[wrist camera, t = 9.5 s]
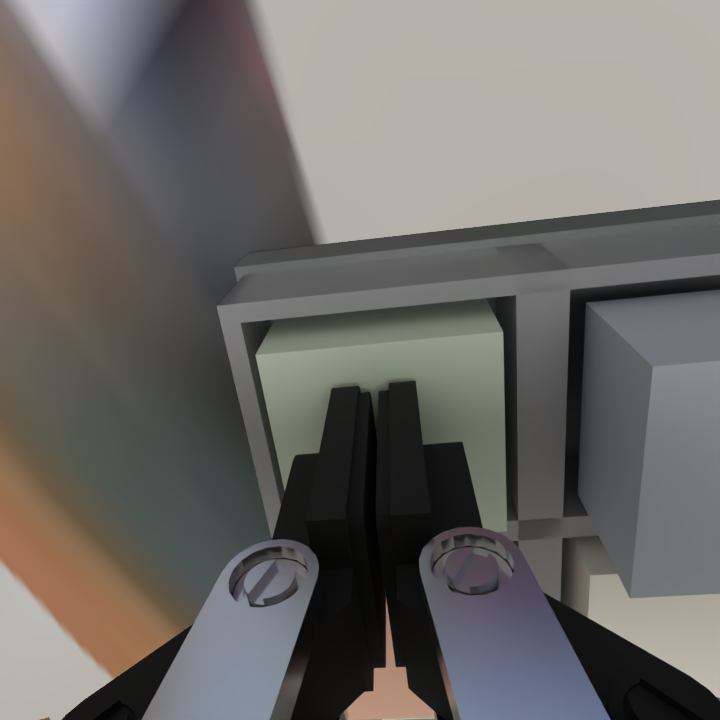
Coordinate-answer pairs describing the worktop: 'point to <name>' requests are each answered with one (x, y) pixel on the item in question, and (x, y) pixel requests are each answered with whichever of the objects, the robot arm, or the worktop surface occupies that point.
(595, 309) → the slate key
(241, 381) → the keypad board
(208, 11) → the worktop surface
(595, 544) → the ivory key
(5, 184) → the worktop surface
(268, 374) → the sage key
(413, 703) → the terracotta key
